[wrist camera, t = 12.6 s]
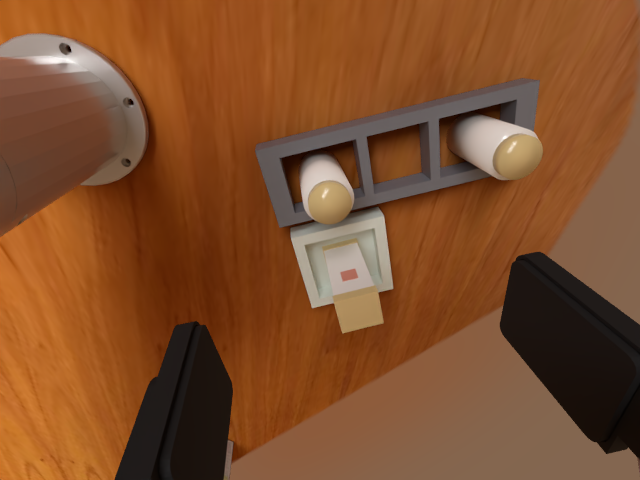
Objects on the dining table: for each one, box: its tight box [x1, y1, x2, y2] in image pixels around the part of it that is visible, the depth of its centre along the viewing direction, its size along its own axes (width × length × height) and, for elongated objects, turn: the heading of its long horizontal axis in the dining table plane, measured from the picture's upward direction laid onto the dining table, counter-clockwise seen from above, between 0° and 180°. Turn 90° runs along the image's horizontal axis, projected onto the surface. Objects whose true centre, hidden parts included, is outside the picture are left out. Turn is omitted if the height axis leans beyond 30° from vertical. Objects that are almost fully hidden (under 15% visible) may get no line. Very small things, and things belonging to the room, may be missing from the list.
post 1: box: [298, 150, 354, 224], centre depth 31 cm, size 4×4×9 cm
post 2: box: [446, 112, 543, 180], centre depth 31 cm, size 4×4×9 cm
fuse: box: [322, 238, 384, 333], centre depth 36 cm, size 4×4×10 cm
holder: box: [255, 78, 540, 228], centre depth 33 cm, size 27×8×2 cm, turn 102°
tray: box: [290, 207, 393, 308], centre depth 39 cm, size 10×10×2 cm
